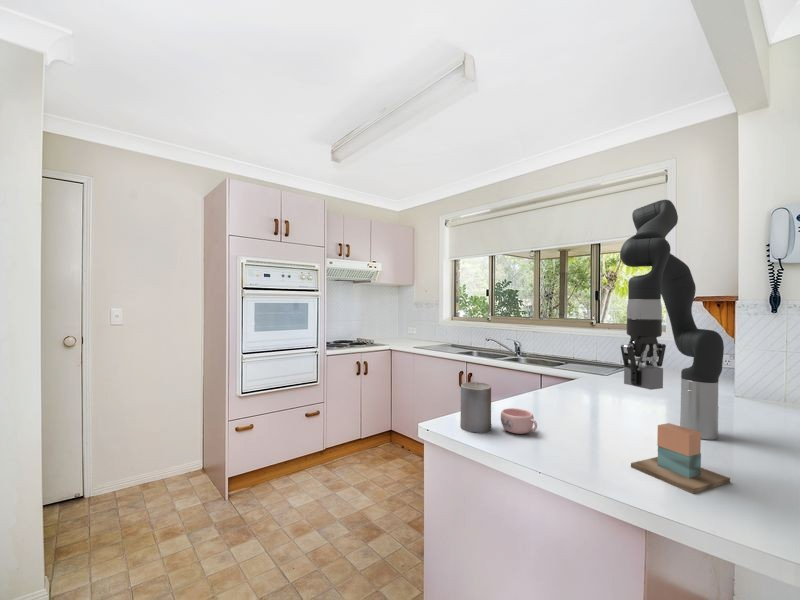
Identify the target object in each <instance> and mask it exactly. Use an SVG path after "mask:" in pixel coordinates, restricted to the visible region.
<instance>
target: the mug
mask: <svg viewBox="0 0 800 600" xmlns="http://www.w3.org/2000/svg"><path fill="white" fill-rule="evenodd" d="M500 422H501V423H500V424H501V425H502V428H503V429H504V430H505V431H507V432H509V433H512V434H519V435H523V434H524V435H525V434H528V433H530V432H531V431H532V432H535V431H536V430H537V429H538V423H537V422H536V420H535V418H534V414H533V413H532V412H531V411H530V410H526V409H522V408H514V407H513V408H505V409H502V411H501V412H500Z"/></svg>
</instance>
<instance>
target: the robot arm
mask: <svg viewBox="0 0 800 600" xmlns="http://www.w3.org/2000/svg"><path fill="white" fill-rule="evenodd" d="M631 217H632V221H633V224H634V228H635V229H636V232H635V233H636V234H634V235H633V236H631V237H628V238H627V240H625V242H624V243H623V244H622V246H621V248H620V253H619V255H620V256H619V258H620V261H621V262H622V264H624V266H626V267H630V268H639V267H641V268H643V267H651V270H650V271H649V272H647V273H644V274H641V275H636V276H632V277H631V278H629V279H628V285H627V289H628V290H627V292H628V293H627V306H626V334H627V336H630V337H629V338H630V339H629V342H628V344H621V345H620V350H621V355H622V356H621V357H622V361H623V368H624V367H626V368H629V369H631V383H632V385H636V386H641V372H642V371H641V369H642V365H647V366H653V367H659V368H662V367H663V363H664V358H665V352H666V349H667V348H666V347H667V345H666V344H665V343H659V341H658V338H661V337H662V335H663V334H662V333H663V332H662V331H663V330H662V329H663V324H662V323H663V307H662V300H663V303H664V305H665V310H666V312H667V316H668V319H669V321H670V327H671V330H672V335H673V340H674V343H675V347H676V348H677V350H678V352H680V353H681V354H682V355H684V356H686V357H690V358H693V360H692V364H691V366H689V367H685V368H683V369H681V370H680V371H681V374H680V379H681V380H680V416H679V417H680V421H679V423H680V425H679V426H681V427H684V428H688V429H691V430H695V431H698V432H701V439H703V440H709V441H710V440H717V439H718V436H719V379H720V376H721V373H722V371H723V364H724V361H723V360H724V354H725V353H724V352H725V345H724V340H723V337H722V336H721V334H720V333H719V332H717V331H715V330H712V329H705V328H702V329H701V328H698V327H697V325H696V322H695V320H694V316H693V313H692V311H693V310H692V309H693V308H692V307H693V303H694V299H695V297H696V283H695V280H694V277H693V275H692V274H693V273H692V272H691V270H690V267H689V266H688V265H687V264H686V263H685V262H684V261H683V260H681V259H680V258H678V257H677V256H675V255H673V254H672V253H671V245H670V243H669V241H668V240H667V239H666V237H667V235H668V234H669V233H670V232H671V231H672V230H673V229H674V228H675V227H676V225H677V224H678V221H679V219H678V218H679V216H678V212H677V209H676V207H675V204H674V203H673V202H672V200H669V199H661V200H658V201H655V202H652V203H649V204H646V205H644V206H640V207H639V208H636V209H634V210H633V212H632V216H631ZM661 299H662V300H661ZM636 364H637V365H636ZM632 385H631V386H632ZM636 386H635V387H636Z"/></svg>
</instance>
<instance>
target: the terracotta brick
mask: <svg viewBox="0 0 800 600" xmlns="http://www.w3.org/2000/svg"><path fill="white" fill-rule="evenodd" d="M656 441H657V443H656V445H657V447H658V446H660V447H663V448H666V449H669V450H672V451H675V452H677V453H680V454H683V455H686V456H693V455H697V454H700V453H701V443H702V442H701V432H698V431H695V430H691V429H688V428H684V427H681V426H680V425H677V424H673V423H671V422H668V423H663V424H657V440H656Z"/></svg>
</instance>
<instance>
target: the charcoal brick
mask: <svg viewBox="0 0 800 600" xmlns="http://www.w3.org/2000/svg"><path fill="white" fill-rule="evenodd" d="M636 365H637V363H636ZM641 371H642V372H641V386H636V385H632V383H631V369H629V368H626V367H624V366H623V384H624V385H628V386H634V387H636V388H637V387H638V388H642V389H646V390H660V389H663V388H664V368H663V367H653V366H647V365H645V364H642V369H641Z"/></svg>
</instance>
